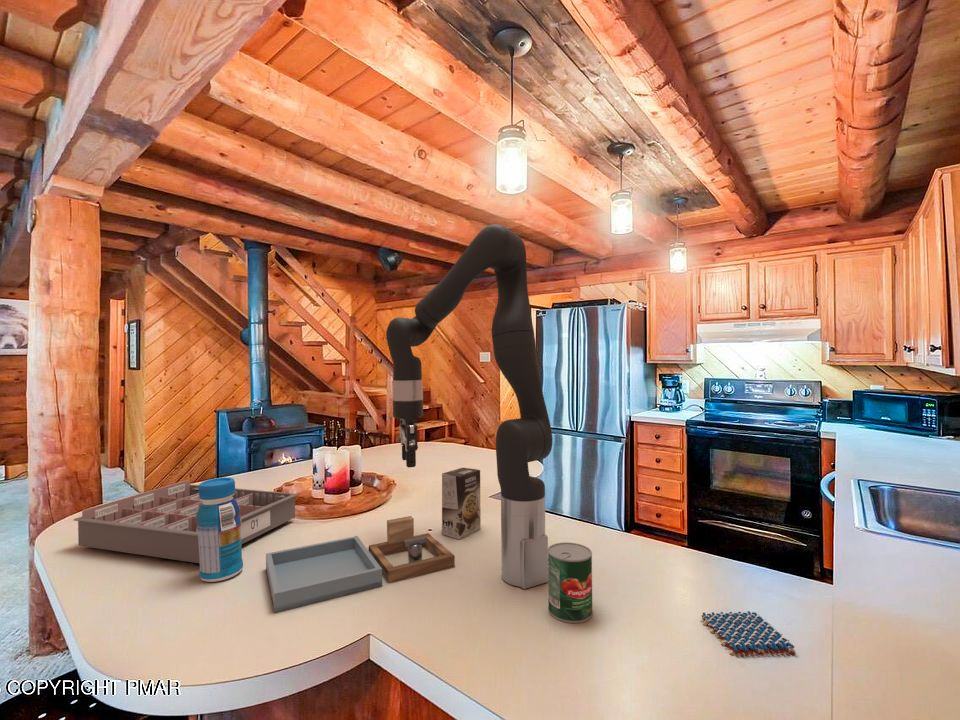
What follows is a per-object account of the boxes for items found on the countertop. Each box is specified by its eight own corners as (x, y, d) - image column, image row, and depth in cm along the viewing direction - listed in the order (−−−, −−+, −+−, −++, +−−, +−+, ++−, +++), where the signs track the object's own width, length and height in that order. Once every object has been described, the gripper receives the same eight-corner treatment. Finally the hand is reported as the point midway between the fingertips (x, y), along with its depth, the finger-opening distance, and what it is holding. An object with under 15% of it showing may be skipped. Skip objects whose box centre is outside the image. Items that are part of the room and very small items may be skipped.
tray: (382, 586, 94) (381, 568, 94) (274, 613, 84) (274, 593, 84) (357, 550, 111) (357, 535, 111) (266, 569, 102) (265, 553, 102)
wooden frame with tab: (454, 566, 102) (454, 532, 102) (388, 583, 95) (388, 546, 95) (428, 542, 116) (427, 512, 116) (368, 555, 108) (368, 523, 108)
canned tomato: (561, 595, 90) (561, 538, 90) (600, 609, 85) (599, 549, 85) (539, 613, 83) (539, 552, 83) (579, 629, 78) (579, 564, 78)
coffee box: (460, 540, 117) (459, 476, 117) (441, 534, 121) (440, 472, 121) (481, 529, 124) (481, 469, 124) (463, 524, 128) (462, 466, 128)
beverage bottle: (193, 586, 94) (187, 489, 94) (205, 568, 103) (200, 478, 102) (238, 579, 97) (233, 484, 96) (247, 562, 105) (243, 474, 104)
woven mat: (755, 620, 82) (755, 608, 82) (799, 659, 71) (799, 645, 71) (697, 621, 81) (697, 610, 81) (732, 661, 71) (732, 648, 71)
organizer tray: (202, 572, 101) (202, 526, 101) (72, 552, 112) (72, 511, 112) (299, 521, 132) (298, 486, 132) (189, 509, 143) (189, 477, 143)
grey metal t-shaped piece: (428, 566, 102) (428, 539, 102) (406, 571, 100) (406, 544, 100) (423, 561, 105) (423, 534, 105) (402, 566, 103) (401, 539, 103)
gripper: (427, 400, 110) (428, 468, 110) (418, 395, 123) (419, 456, 123) (395, 401, 108) (396, 471, 108) (389, 396, 121) (390, 458, 121)
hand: (408, 463), depth 116 cm, fingers open, 8 cm apart
